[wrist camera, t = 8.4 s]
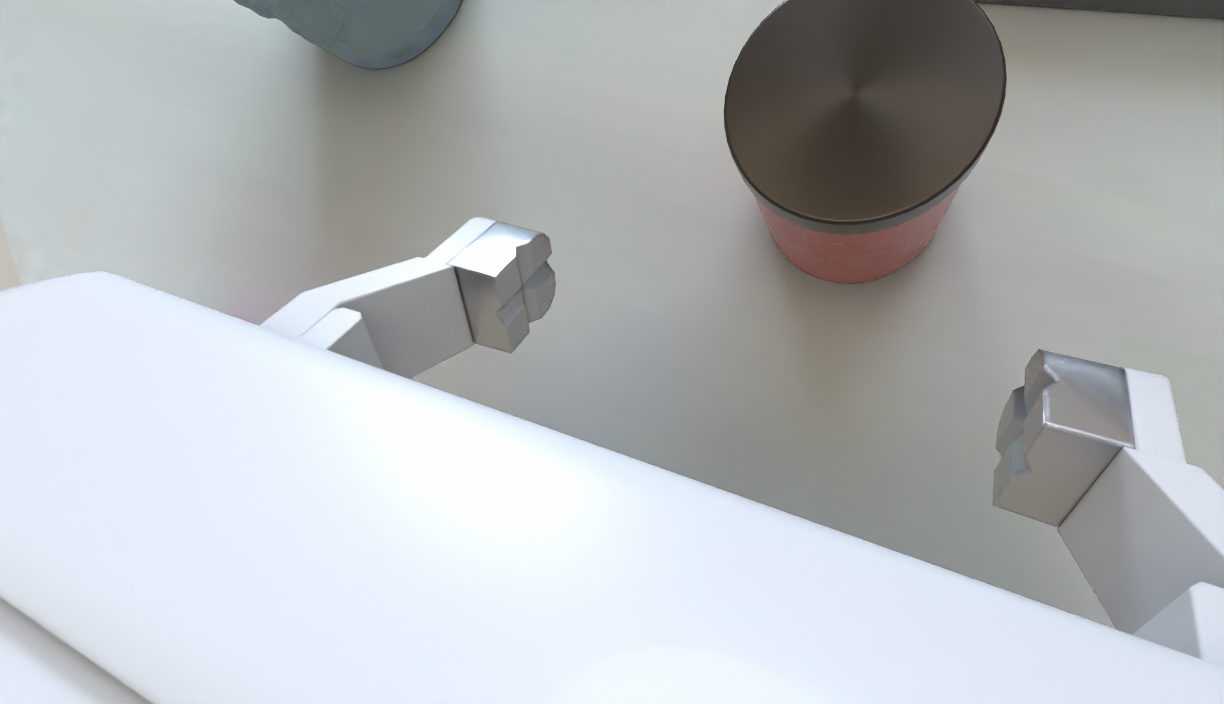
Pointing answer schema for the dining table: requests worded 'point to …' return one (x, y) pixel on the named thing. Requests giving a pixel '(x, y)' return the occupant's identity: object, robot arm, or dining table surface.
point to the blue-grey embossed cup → (363, 26)
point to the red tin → (862, 125)
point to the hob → (1134, 6)
